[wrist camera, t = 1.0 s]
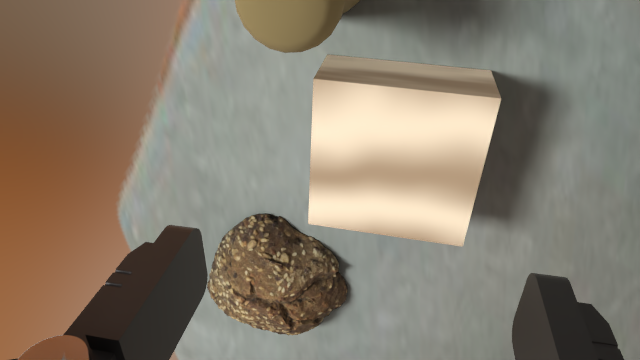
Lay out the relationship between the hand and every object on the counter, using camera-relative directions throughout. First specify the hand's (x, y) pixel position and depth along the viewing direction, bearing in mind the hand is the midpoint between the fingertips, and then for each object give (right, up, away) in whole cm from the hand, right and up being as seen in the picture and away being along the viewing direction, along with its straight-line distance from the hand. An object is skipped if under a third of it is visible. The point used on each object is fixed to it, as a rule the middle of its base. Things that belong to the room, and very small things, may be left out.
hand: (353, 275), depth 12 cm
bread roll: (-4, -6, +33) cm, 34 cm away
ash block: (+5, +6, +23) cm, 25 cm away
